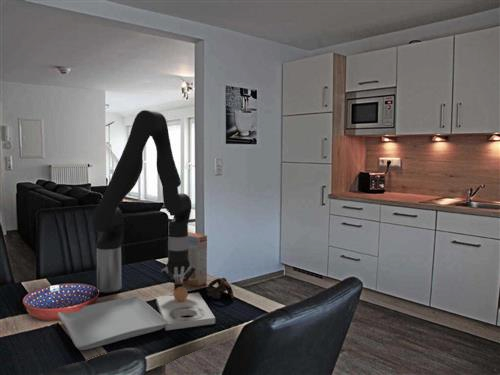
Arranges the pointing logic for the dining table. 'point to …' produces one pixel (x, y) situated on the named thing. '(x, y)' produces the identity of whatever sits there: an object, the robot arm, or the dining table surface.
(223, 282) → the brown openwork arch
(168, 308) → the white flat slab
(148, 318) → the square plate
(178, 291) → the ball
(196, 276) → the cracker box
